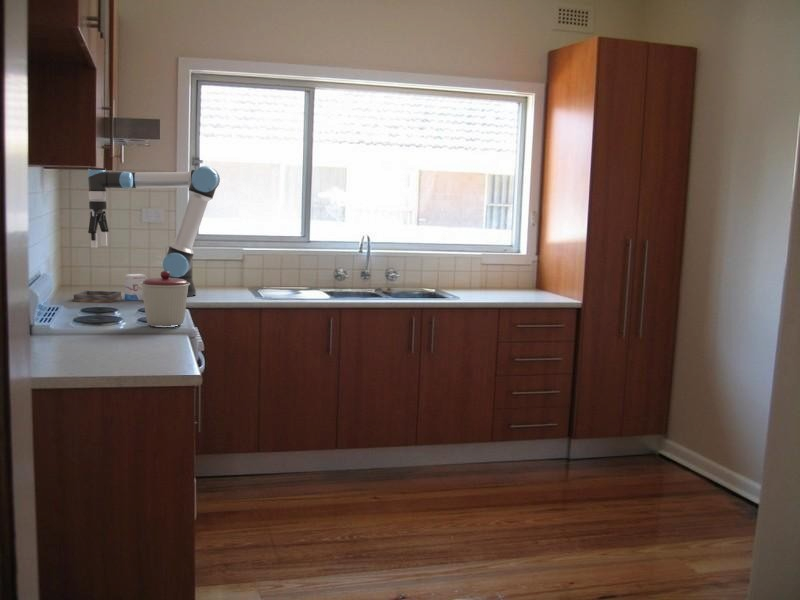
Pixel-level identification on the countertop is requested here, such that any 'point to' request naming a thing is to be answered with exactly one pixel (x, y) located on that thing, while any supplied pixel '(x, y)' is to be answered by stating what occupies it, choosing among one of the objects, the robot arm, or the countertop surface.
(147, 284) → the canister
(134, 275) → the ink box
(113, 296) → the brown shallow square tray
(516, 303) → the countertop surface
